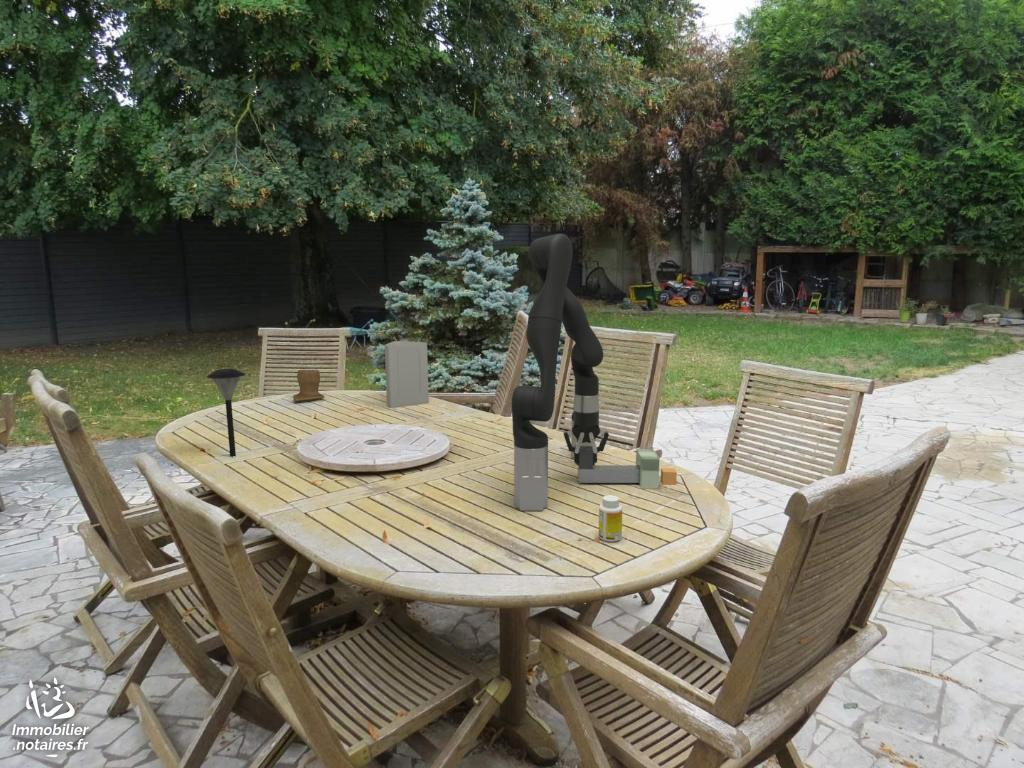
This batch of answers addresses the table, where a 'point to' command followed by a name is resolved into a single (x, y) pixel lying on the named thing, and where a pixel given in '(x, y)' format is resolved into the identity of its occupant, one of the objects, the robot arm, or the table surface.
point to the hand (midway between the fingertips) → (585, 464)
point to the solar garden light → (227, 397)
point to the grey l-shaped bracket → (604, 470)
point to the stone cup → (308, 386)
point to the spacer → (668, 476)
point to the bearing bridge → (648, 468)
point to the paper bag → (406, 373)
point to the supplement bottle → (610, 519)
